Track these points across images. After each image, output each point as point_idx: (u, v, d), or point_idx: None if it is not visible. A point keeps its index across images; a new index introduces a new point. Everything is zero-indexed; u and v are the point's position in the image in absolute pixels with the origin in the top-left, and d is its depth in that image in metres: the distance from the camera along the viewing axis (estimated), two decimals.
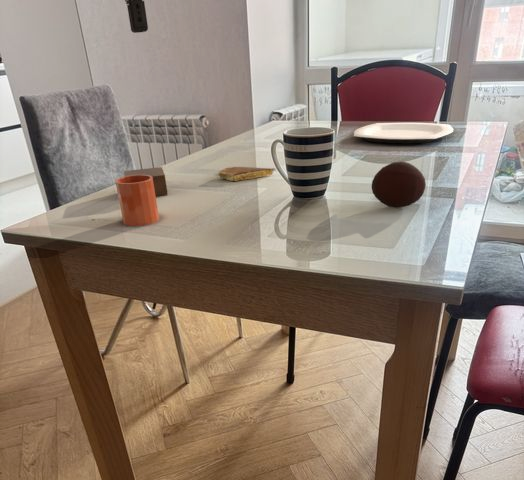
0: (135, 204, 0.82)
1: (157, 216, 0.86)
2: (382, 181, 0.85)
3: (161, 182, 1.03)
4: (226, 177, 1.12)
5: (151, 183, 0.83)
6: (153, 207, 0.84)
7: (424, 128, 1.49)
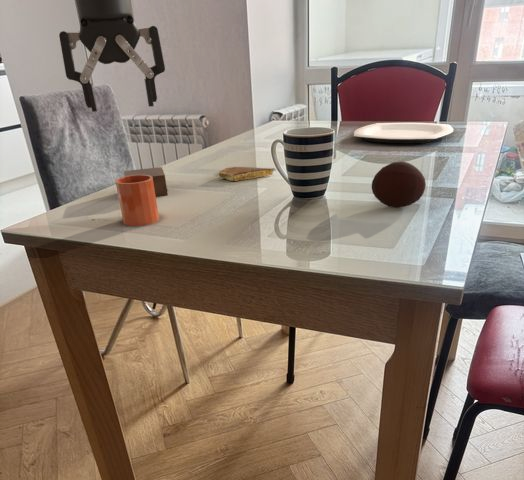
0: (135, 204, 0.82)
1: (157, 216, 0.86)
2: (382, 181, 0.85)
3: (161, 182, 1.03)
4: (226, 177, 1.12)
5: (151, 183, 0.83)
6: (153, 207, 0.84)
7: (424, 128, 1.49)
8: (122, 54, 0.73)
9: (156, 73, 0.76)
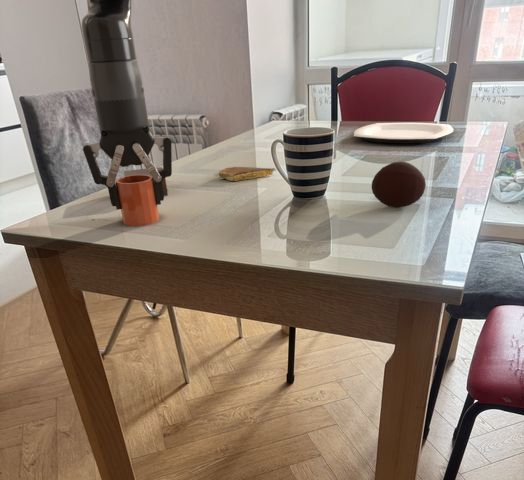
0: (135, 204, 0.82)
1: (157, 216, 0.86)
2: (382, 181, 0.85)
3: None
4: (226, 177, 1.12)
5: (151, 183, 0.83)
6: (153, 207, 0.84)
7: (424, 128, 1.49)
8: (138, 158, 0.81)
9: (163, 176, 0.83)
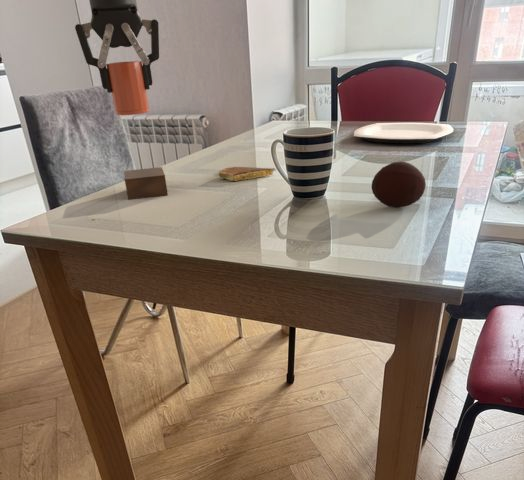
0: (124, 85, 0.87)
1: (146, 101, 0.91)
2: (382, 181, 0.85)
3: (161, 182, 1.03)
4: (226, 177, 1.12)
5: (140, 66, 0.88)
6: (142, 90, 0.89)
7: (424, 128, 1.49)
8: (127, 39, 0.86)
9: (151, 60, 0.88)
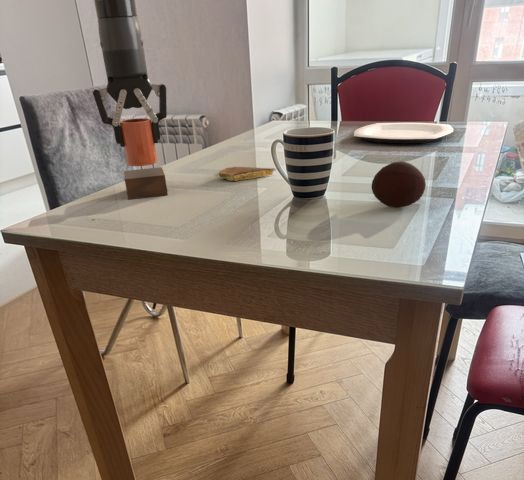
0: (136, 141, 0.99)
1: (154, 153, 1.02)
2: (382, 181, 0.85)
3: (161, 182, 1.03)
4: (226, 177, 1.12)
5: (149, 124, 0.99)
6: (151, 145, 1.01)
7: (424, 128, 1.49)
8: (138, 101, 0.97)
9: (160, 118, 1.00)
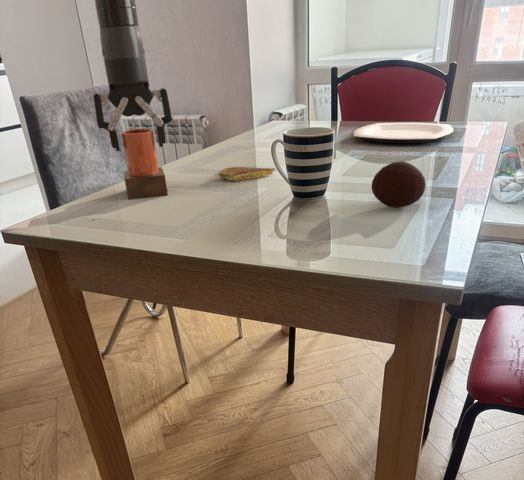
0: (138, 151, 1.00)
1: (156, 163, 1.03)
2: (382, 181, 0.85)
3: (161, 182, 1.03)
4: (226, 177, 1.12)
5: (151, 134, 1.00)
6: (153, 155, 1.02)
7: (424, 128, 1.49)
8: (140, 109, 0.98)
9: (165, 122, 1.00)
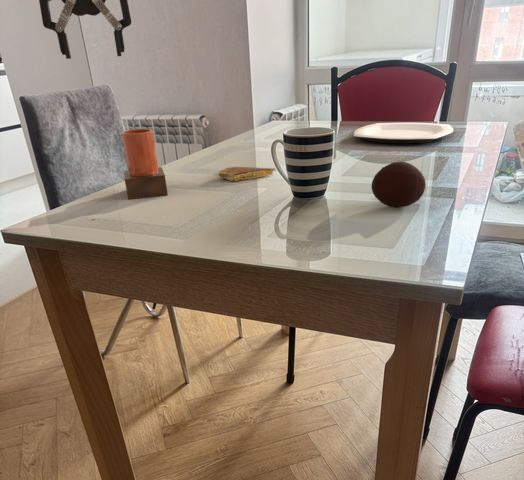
0: (138, 151, 1.00)
1: (156, 163, 1.03)
2: (382, 181, 0.85)
3: (161, 182, 1.03)
4: (226, 177, 1.12)
5: (151, 134, 1.00)
6: (153, 155, 1.02)
7: (424, 128, 1.49)
8: (93, 7, 0.84)
9: (123, 26, 0.86)
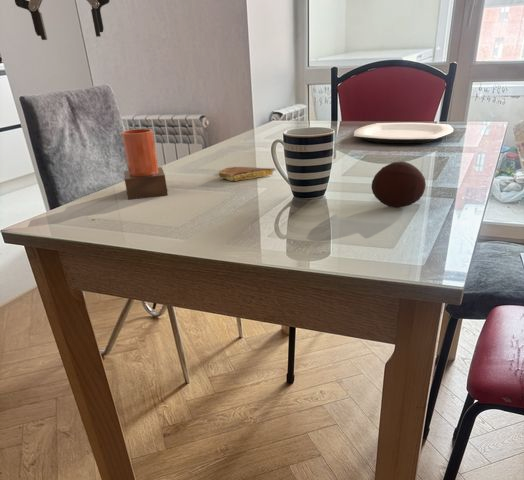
0: (138, 151, 1.00)
1: (156, 163, 1.03)
2: (382, 181, 0.85)
3: (161, 182, 1.03)
4: (226, 177, 1.12)
5: (151, 134, 1.00)
6: (153, 155, 1.02)
7: (424, 128, 1.49)
8: None
9: (101, 3, 0.81)
